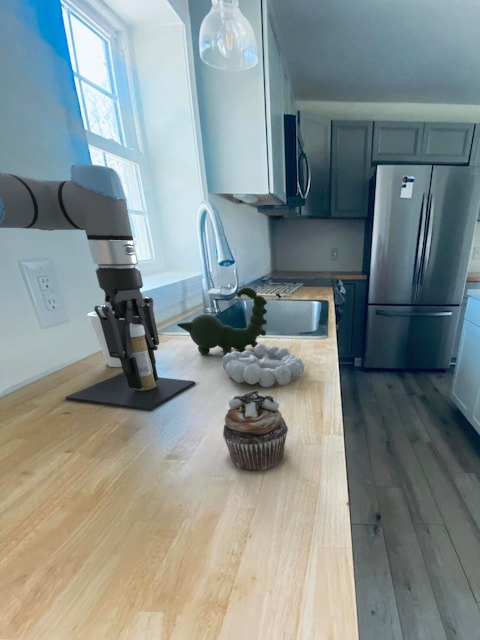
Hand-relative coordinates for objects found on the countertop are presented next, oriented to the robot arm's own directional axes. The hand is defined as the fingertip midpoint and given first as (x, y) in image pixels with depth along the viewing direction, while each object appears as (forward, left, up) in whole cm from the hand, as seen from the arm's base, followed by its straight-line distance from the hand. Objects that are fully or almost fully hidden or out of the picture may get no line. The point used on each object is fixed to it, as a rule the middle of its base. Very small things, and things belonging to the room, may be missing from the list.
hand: (144, 383), depth 80 cm
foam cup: (-19, +15, -2) cm, 24 cm away
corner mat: (-2, -1, -2) cm, 3 cm away
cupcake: (+35, -19, -2) cm, 40 cm away
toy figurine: (+2, +34, -2) cm, 34 cm away
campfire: (+21, +17, -2) cm, 27 cm away
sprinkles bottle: (0, 0, -1) cm, 1 cm away
